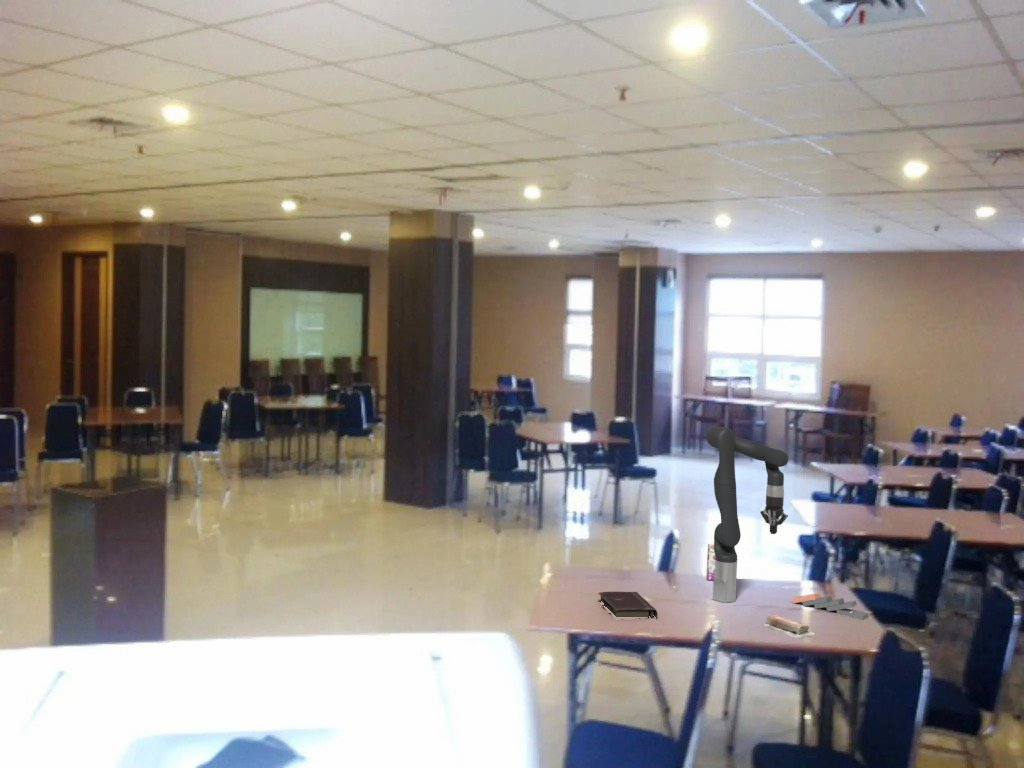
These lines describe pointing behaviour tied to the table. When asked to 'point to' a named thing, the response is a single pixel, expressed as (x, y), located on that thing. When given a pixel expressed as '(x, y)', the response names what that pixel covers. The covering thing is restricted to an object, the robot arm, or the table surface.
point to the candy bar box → (710, 563)
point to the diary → (627, 604)
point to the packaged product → (787, 626)
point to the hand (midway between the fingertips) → (773, 533)
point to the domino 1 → (806, 598)
